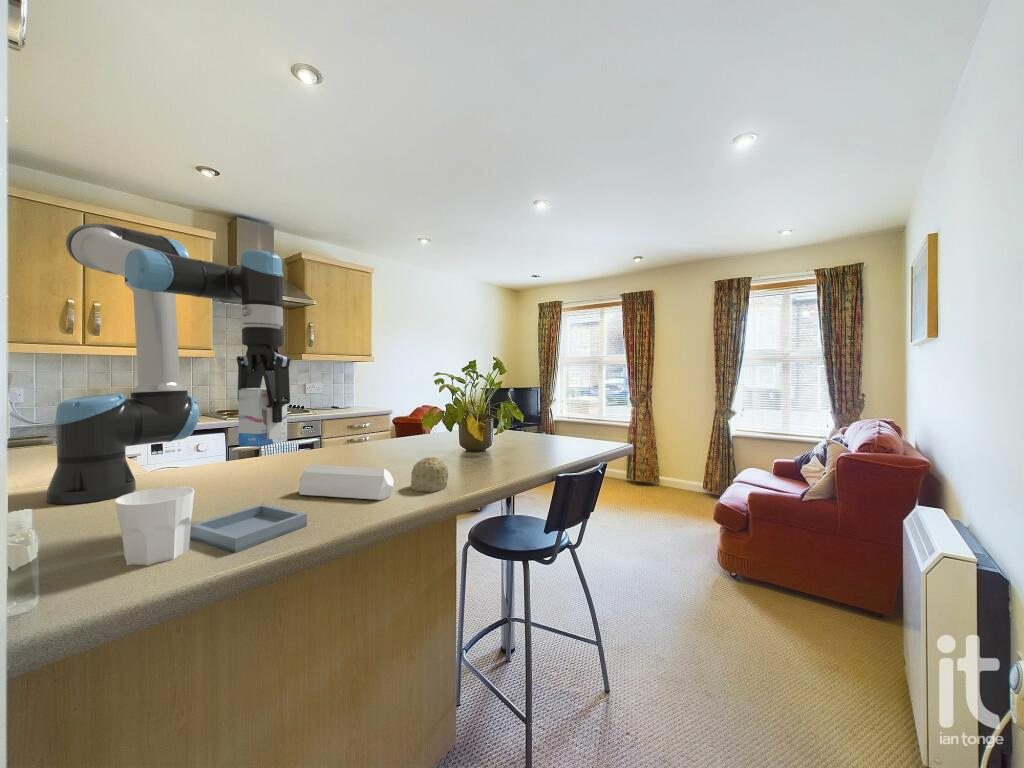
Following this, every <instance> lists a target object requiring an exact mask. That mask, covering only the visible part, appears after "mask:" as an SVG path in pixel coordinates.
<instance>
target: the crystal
mask: <svg viewBox="0 0 1024 768" xmlns="http://www.w3.org/2000/svg"><path fill="white" fill-rule="evenodd" d="M394 483H395V480H394V478H393V476H392V474H391V472H390V471H388V470H387V469H386V468H384V467H382V468H381V467H368V466H367V467H366V466H364V467H362V466H347V465H346V466H345V465H329V464H328V465H327V464H308V465H307V466H306V467H305V468H304V470H303V472H302V474H301V476H300V477H299V480H298V492H299V495H303V496H315V497H317V496H318V497H331V498H344V499H345V498H346V499H347V498H348V499H349V498H350V499H365V500H377V501H383V500H386V499H387V498H389V497H391V495H392V492H393V487H394Z"/></svg>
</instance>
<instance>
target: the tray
mask: <svg viewBox="0 0 1024 768" xmlns="http://www.w3.org/2000/svg"><path fill="white" fill-rule="evenodd" d="M307 526H308V513H306V512H305V513H304V512H301V511H296V510H291V509H286V508H283V507H278V506H274V505H269V504H263V503H262V504H261V503H260V504H258V505H255V506H252V507H251V506H250V507H248V508H244V509H242V510H241V509H240V510H238V511H234V512H231V513H227V514H223V515H221V516H218V517H215V518H211V519H207V520H203V521H200V522H197V523H193V524H191V529H190V540H192V541H196V542H199V543H202V544H205V545H209V546H212V547H215V548H219V549H222V550H224V551H229V552H231V553H235V554H237V553H239V552H241V551H244V550H247V549H250V548H252V547H254V546H258V545H260V544H262V543H266V542H268V541H271V540H273V539H276V538H279V537H282V536H284V535H287V534H289V533H292V532H294V531H297V530H300V529H302V528H305V527H307Z"/></svg>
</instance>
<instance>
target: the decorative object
mask: <svg viewBox="0 0 1024 768" xmlns="http://www.w3.org/2000/svg"><path fill="white" fill-rule="evenodd" d="M448 470H449V469H448V465H447V464H446V463H445V462H444V461H443V460H442V459H440V458H439V457H436V456H426V457H423V458H422V459H421V460H419V461H417V462H416V463H414V465H413V467H412V470H411V474H410V475H411V476H410V477H411V478H410V479H411V480H410V485H411V489H412V490H414V491H417V492H423V493H424V492H425V493H427V492H428V493H434V492H439V491H442V490H444V489H446V487H447V485H448V480H449V479H448V478H449V472H448Z"/></svg>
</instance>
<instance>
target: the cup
mask: <svg viewBox="0 0 1024 768" xmlns="http://www.w3.org/2000/svg"><path fill="white" fill-rule="evenodd" d="M194 498H195V489H194V488H192V487H189V486H163V487H154V488H148V489H143V490H138V491H133V492H131V493H128V494H126V495H122V496H119V497H116V499H114V500H115V502H114V503H115V507H116V512H117V518H118V519H117V520H118V523H119V524H118V525H119V527H120V530H121V538H122V545H123V546H122V547H123V555H124V560H125V563H126V566H132V565H145V566H151V565H154V564H156V563H161V562H164V561H165V562H166V561H171V560H175V559H176V558H177V557H178V556H180V555H182V554H185V553H186V552H189V551H190V542H191V539H190V529H191V525H192V517H193V509H194V508H193V507H194V500H195V499H194Z"/></svg>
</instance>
